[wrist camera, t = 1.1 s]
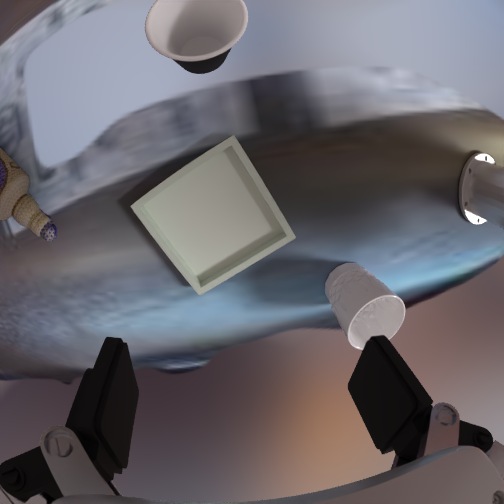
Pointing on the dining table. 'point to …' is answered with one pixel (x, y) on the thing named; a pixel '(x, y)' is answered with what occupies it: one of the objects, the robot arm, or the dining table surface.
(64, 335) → the dining table surface
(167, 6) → the dixie cup
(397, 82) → the dining table surface
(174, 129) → the dining table surface
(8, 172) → the decorative bottle
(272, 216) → the tray
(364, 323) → the white cup
